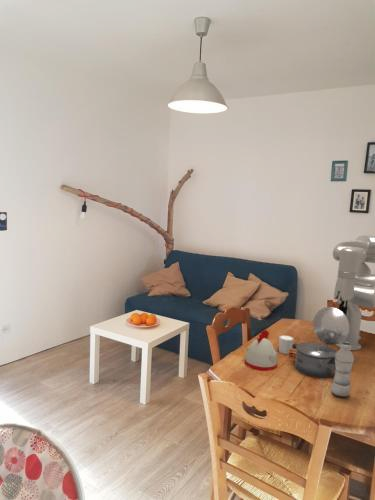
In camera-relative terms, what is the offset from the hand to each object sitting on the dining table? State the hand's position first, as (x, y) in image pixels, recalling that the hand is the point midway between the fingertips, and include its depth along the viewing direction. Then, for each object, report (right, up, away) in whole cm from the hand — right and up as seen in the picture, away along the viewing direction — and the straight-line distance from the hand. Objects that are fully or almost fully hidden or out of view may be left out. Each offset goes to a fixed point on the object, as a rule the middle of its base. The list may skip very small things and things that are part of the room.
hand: (342, 314), depth 175 cm
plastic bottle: (-14, -25, -32) cm, 43 cm away
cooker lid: (-8, -4, -6) cm, 11 cm away
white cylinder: (-24, -19, +8) cm, 32 cm away
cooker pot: (-15, -22, -12) cm, 29 cm away
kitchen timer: (-39, -21, -8) cm, 45 cm away
